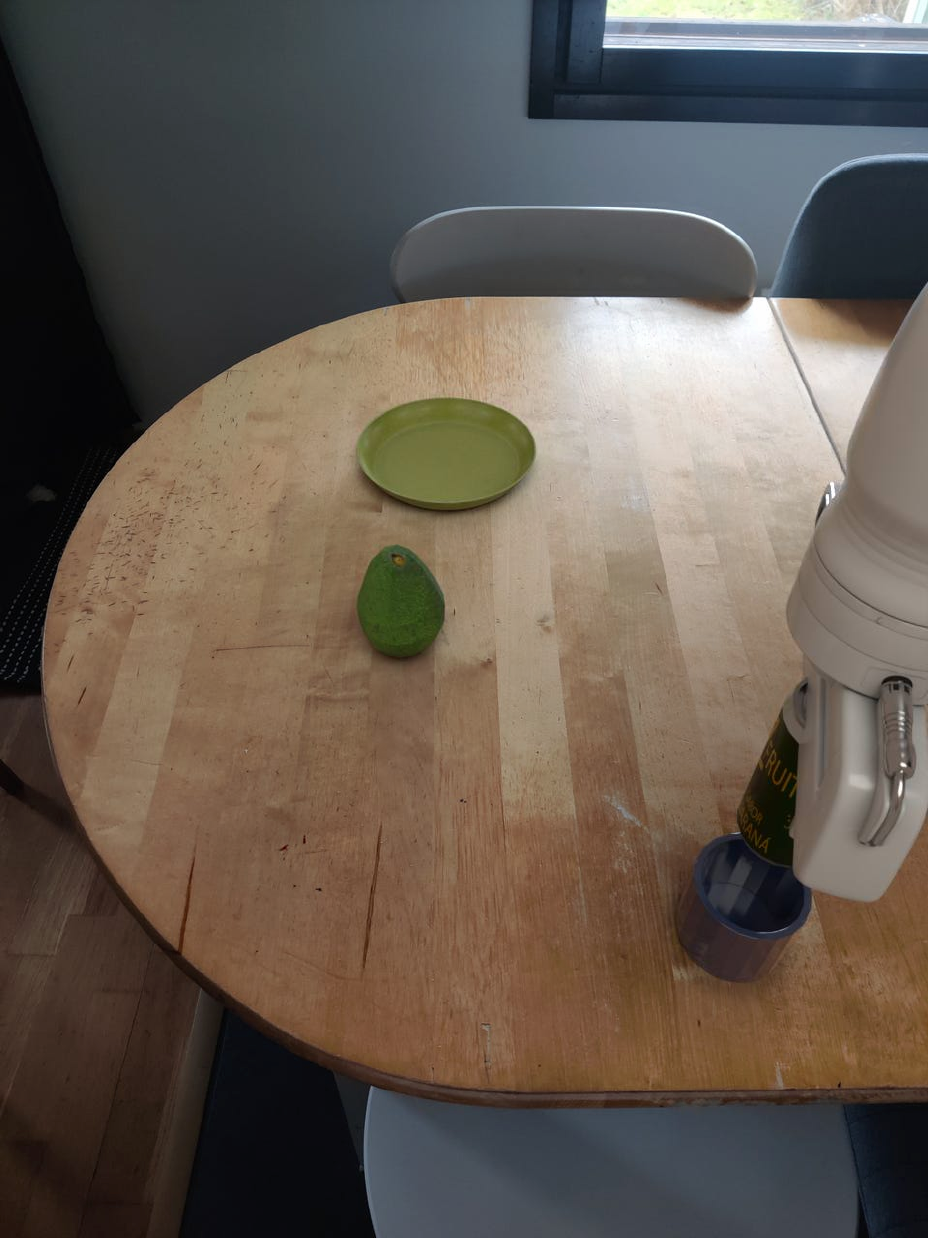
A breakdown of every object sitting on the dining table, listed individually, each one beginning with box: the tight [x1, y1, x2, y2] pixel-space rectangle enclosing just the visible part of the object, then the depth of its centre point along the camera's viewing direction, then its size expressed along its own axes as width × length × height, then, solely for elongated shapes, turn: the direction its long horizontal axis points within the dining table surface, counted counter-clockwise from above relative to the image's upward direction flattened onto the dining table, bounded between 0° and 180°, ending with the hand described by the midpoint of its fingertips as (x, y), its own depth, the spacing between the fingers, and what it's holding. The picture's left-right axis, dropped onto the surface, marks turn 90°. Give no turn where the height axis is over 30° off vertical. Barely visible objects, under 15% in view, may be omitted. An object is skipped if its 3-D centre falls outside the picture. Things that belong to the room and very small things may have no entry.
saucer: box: [355, 396, 537, 511], centre depth 100 cm, size 21×21×3 cm
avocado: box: [356, 544, 446, 659], centre depth 77 cm, size 8×8×12 cm
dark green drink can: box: [736, 677, 808, 868], centre depth 48 cm, size 5×5×12 cm
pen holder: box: [675, 832, 813, 983], centre depth 59 cm, size 8×8×7 cm
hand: (806, 779), depth 48 cm, fingers closed on dark green drink can, 5 cm apart
